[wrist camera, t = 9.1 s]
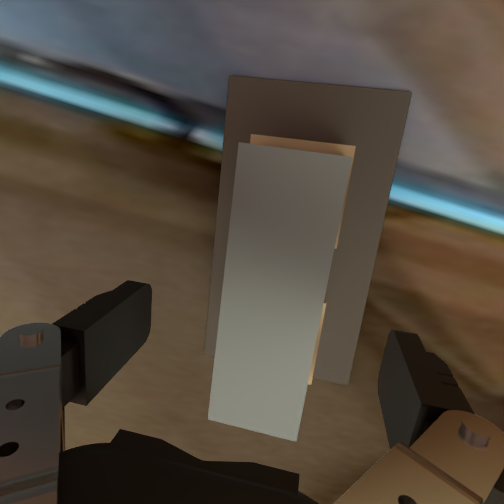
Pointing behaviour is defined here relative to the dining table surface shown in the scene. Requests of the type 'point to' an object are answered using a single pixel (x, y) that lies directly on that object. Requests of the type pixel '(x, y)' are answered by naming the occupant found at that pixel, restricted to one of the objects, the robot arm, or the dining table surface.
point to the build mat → (357, 200)
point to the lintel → (275, 284)
